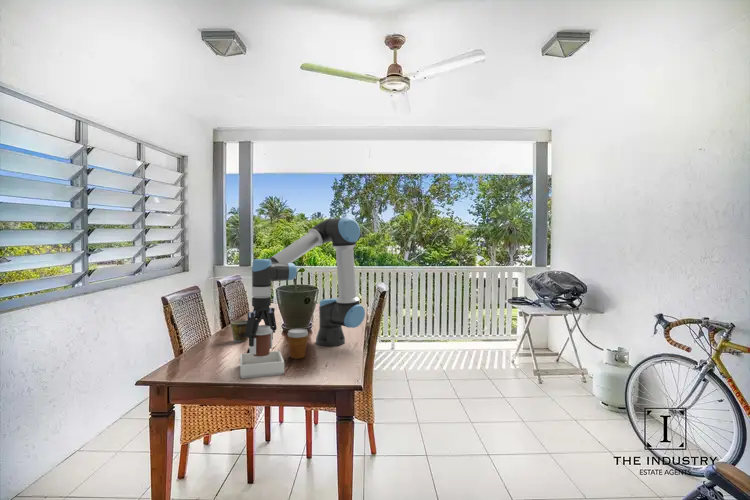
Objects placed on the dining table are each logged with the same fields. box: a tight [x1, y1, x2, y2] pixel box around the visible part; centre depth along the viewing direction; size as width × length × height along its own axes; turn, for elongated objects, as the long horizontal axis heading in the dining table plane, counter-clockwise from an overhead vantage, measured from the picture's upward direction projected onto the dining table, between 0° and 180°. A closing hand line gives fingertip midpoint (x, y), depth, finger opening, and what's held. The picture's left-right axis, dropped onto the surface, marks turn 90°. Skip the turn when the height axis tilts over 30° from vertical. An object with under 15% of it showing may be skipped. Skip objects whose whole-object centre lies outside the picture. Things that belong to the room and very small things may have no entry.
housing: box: [239, 350, 285, 379], centre depth 165 cm, size 17×17×5 cm
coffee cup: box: [253, 324, 274, 358], centre depth 165 cm, size 9×9×12 cm
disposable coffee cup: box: [286, 328, 309, 360], centre depth 184 cm, size 10×10×12 cm
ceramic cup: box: [230, 319, 249, 343], centre depth 209 cm, size 13×10×10 cm
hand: (261, 350), depth 165 cm, fingers closed on coffee cup, 9 cm apart
